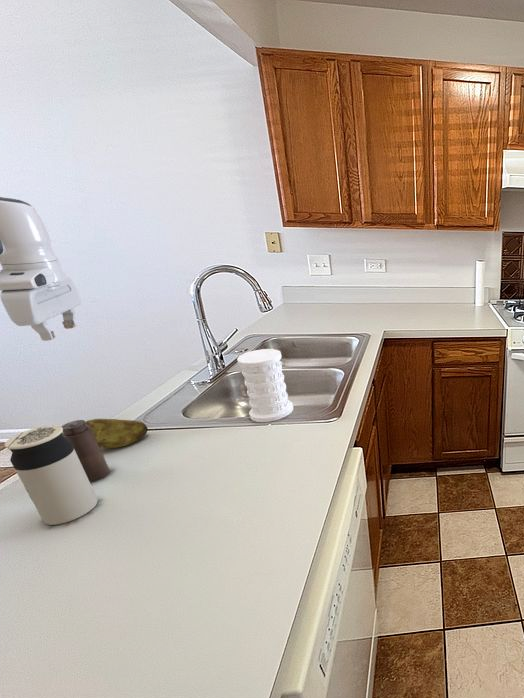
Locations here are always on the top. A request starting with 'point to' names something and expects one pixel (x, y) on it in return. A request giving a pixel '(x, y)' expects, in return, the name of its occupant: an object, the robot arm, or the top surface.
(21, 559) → the top surface
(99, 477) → the pepper mill
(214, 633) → the top surface
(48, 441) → the travel mug
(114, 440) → the green pickle
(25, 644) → the top surface
